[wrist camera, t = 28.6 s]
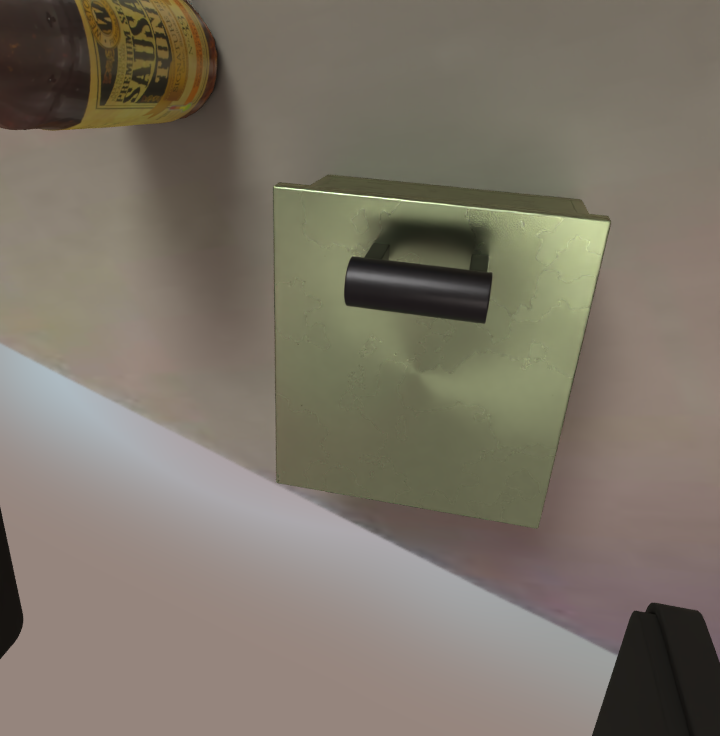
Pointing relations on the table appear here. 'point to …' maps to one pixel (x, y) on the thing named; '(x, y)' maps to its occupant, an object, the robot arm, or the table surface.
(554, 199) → the green open box
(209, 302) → the table surface
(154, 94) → the sauce bottle
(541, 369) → the lid
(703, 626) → the robot arm
